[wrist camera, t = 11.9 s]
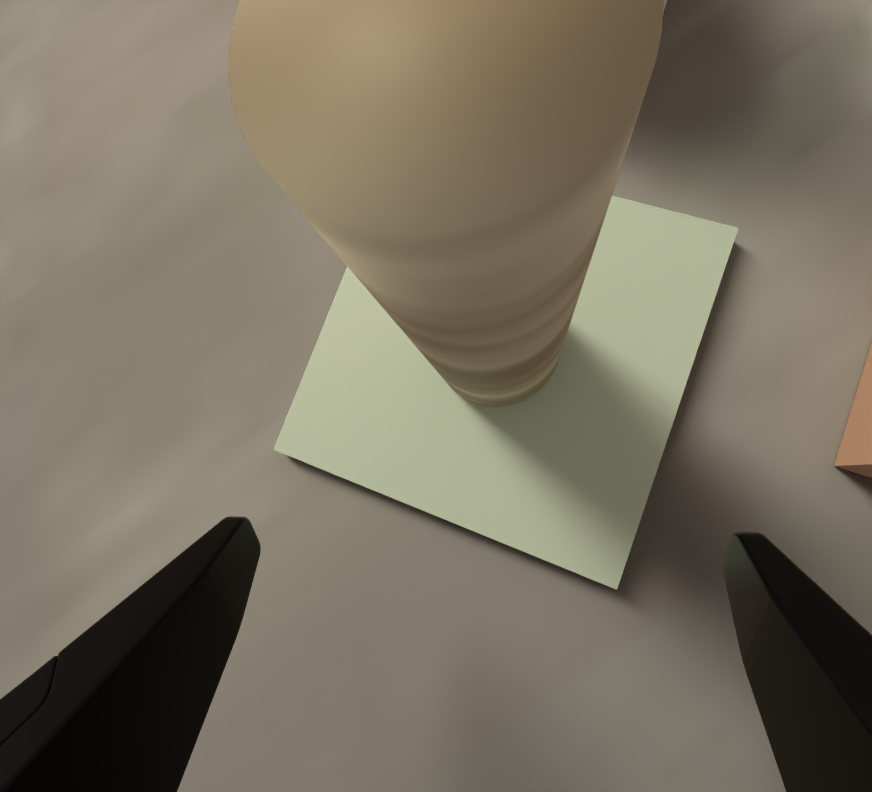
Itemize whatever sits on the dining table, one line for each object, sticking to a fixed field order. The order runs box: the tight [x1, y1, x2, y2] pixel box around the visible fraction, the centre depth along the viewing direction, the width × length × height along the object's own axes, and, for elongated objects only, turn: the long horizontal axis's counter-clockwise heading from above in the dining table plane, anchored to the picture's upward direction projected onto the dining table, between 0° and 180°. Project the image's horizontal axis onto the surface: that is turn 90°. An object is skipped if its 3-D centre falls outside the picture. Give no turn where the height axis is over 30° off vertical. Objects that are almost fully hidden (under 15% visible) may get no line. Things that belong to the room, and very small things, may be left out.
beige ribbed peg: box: [228, 0, 663, 407], centre depth 12 cm, size 4×4×14 cm
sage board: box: [274, 196, 738, 590], centre depth 20 cm, size 13×13×1 cm
